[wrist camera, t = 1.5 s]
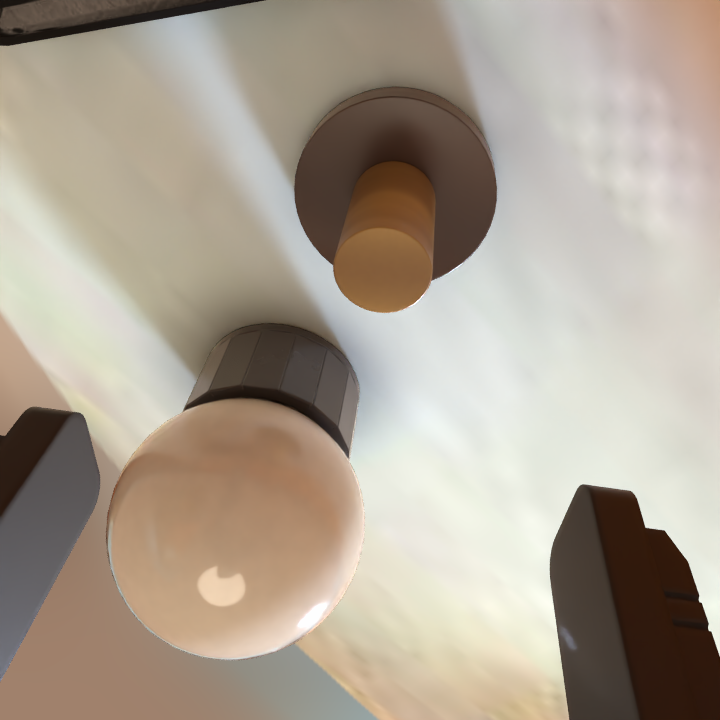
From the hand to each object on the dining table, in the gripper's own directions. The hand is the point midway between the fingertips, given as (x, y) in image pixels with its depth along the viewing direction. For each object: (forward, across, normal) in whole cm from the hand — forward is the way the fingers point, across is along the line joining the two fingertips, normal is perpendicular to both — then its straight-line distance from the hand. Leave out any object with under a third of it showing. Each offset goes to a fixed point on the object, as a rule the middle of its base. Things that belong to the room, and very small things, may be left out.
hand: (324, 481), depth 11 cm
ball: (+7, +4, +11) cm, 14 cm away
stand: (+14, +4, +11) cm, 19 cm away
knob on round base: (+14, 0, +1) cm, 14 cm away
